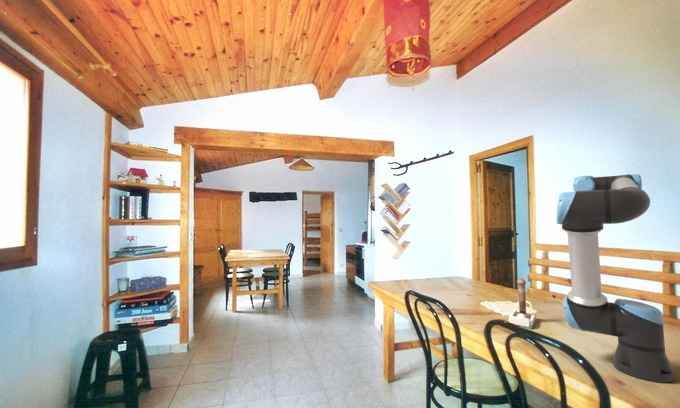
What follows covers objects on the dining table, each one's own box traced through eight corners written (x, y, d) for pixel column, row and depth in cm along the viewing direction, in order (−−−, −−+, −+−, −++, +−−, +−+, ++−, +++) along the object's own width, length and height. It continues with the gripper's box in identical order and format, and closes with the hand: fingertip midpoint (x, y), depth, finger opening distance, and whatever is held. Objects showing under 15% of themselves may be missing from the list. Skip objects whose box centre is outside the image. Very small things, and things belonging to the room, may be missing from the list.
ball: (526, 321, 154) (525, 323, 151) (517, 319, 156) (516, 321, 153) (526, 313, 154) (525, 315, 151) (517, 312, 157) (516, 313, 154)
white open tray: (531, 329, 145) (531, 319, 146) (508, 325, 151) (507, 316, 152) (536, 319, 161) (535, 310, 161) (514, 315, 167) (514, 307, 167)
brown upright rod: (529, 321, 153) (527, 280, 155) (514, 318, 157) (513, 278, 159) (530, 318, 157) (529, 278, 159) (516, 316, 161) (514, 277, 163)
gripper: (597, 207, 131) (600, 256, 129) (594, 209, 150) (597, 252, 149) (575, 207, 135) (578, 255, 134) (575, 209, 155) (578, 251, 153)
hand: (588, 253), depth 141 cm, fingers open, 13 cm apart
